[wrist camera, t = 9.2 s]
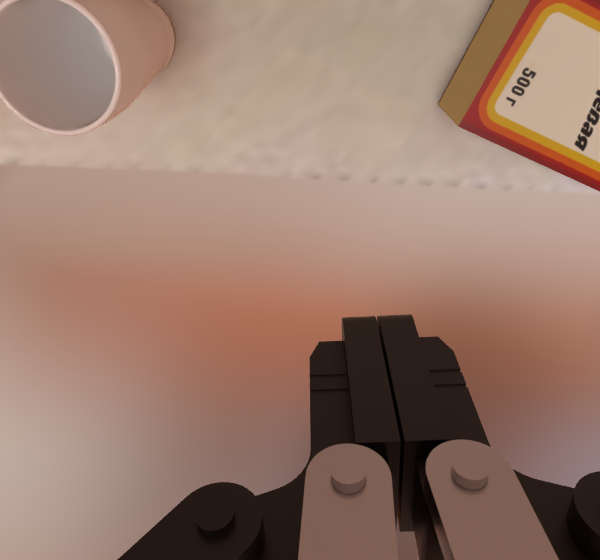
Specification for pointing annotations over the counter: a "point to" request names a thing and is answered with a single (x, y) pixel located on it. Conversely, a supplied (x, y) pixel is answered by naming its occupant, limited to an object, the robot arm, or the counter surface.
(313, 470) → the robot arm
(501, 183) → the counter surface
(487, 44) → the baking soda box
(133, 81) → the pinkish beige cup
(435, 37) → the counter surface
